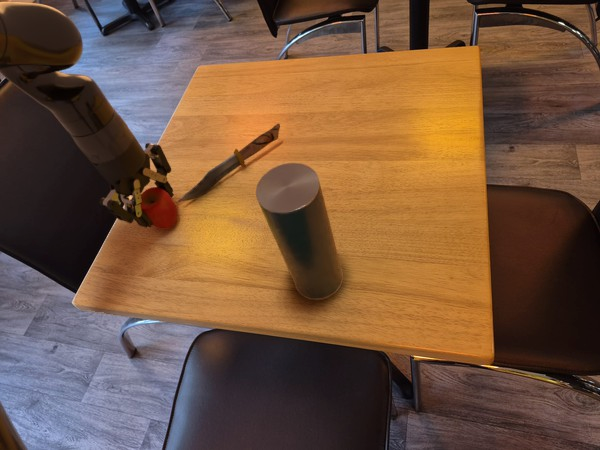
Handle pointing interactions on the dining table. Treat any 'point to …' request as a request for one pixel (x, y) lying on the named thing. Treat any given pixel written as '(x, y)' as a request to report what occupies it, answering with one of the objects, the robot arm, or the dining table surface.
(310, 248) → the tin can
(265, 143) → the knife
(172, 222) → the apple
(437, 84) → the dining table surface
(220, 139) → the dining table surface
